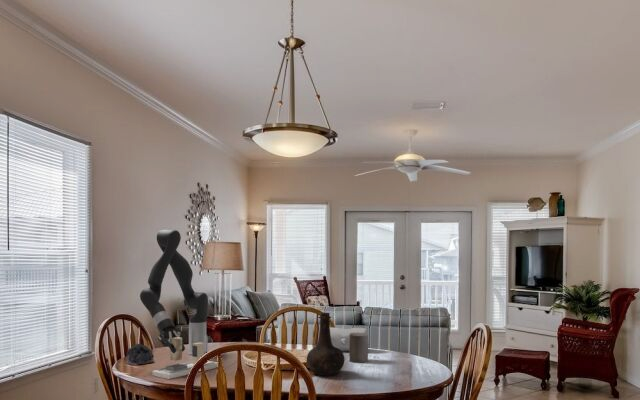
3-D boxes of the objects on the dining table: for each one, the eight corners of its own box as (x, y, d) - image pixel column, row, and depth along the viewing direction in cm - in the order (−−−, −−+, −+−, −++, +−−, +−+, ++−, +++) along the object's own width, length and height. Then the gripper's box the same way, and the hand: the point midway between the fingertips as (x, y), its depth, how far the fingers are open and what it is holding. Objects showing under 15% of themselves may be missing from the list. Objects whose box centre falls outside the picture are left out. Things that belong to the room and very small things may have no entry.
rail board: (202, 363, 290) (203, 339, 291) (218, 367, 283) (219, 342, 284) (152, 375, 267) (152, 348, 267) (168, 379, 259) (169, 352, 260)
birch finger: (177, 358, 273) (178, 336, 274) (182, 359, 271) (182, 337, 272) (170, 359, 270) (170, 338, 270) (174, 360, 268) (175, 339, 268)
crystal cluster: (153, 366, 289) (155, 345, 291) (124, 365, 286) (127, 344, 287) (153, 362, 302) (155, 343, 304) (126, 362, 298) (128, 342, 300)
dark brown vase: (333, 380, 257) (333, 316, 258) (299, 375, 265) (299, 314, 267) (351, 371, 272) (350, 311, 274) (318, 367, 281) (318, 309, 283)
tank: (320, 353, 315) (320, 330, 316) (325, 348, 330) (325, 326, 331) (366, 355, 311) (366, 331, 311) (368, 349, 326) (368, 327, 327)
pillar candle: (346, 362, 293) (346, 332, 294) (352, 358, 302) (352, 329, 303) (364, 363, 289) (364, 333, 290) (370, 359, 298) (370, 330, 299)
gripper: (154, 319, 271) (170, 348, 262) (179, 316, 282) (195, 344, 274) (147, 329, 274) (163, 358, 265) (172, 326, 285) (187, 354, 276)
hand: (179, 351), depth 269 cm, fingers closed on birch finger, 4 cm apart
